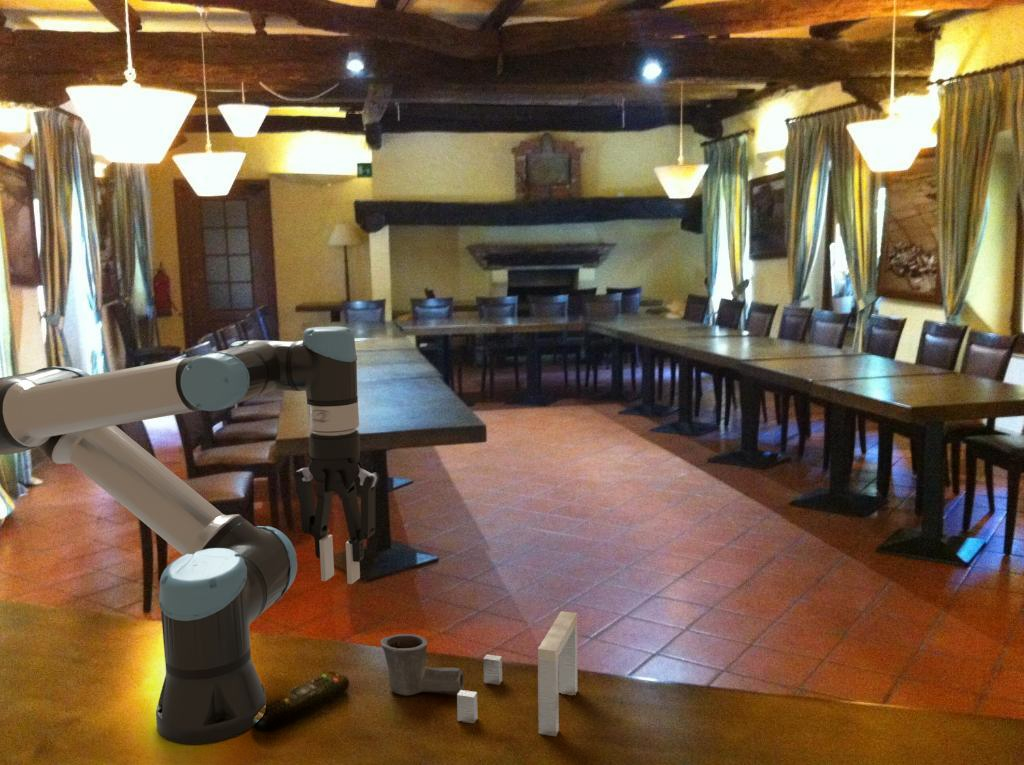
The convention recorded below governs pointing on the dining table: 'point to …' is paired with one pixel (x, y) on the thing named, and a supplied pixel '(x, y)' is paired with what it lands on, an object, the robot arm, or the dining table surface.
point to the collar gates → (554, 644)
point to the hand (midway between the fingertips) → (340, 579)
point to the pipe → (417, 668)
